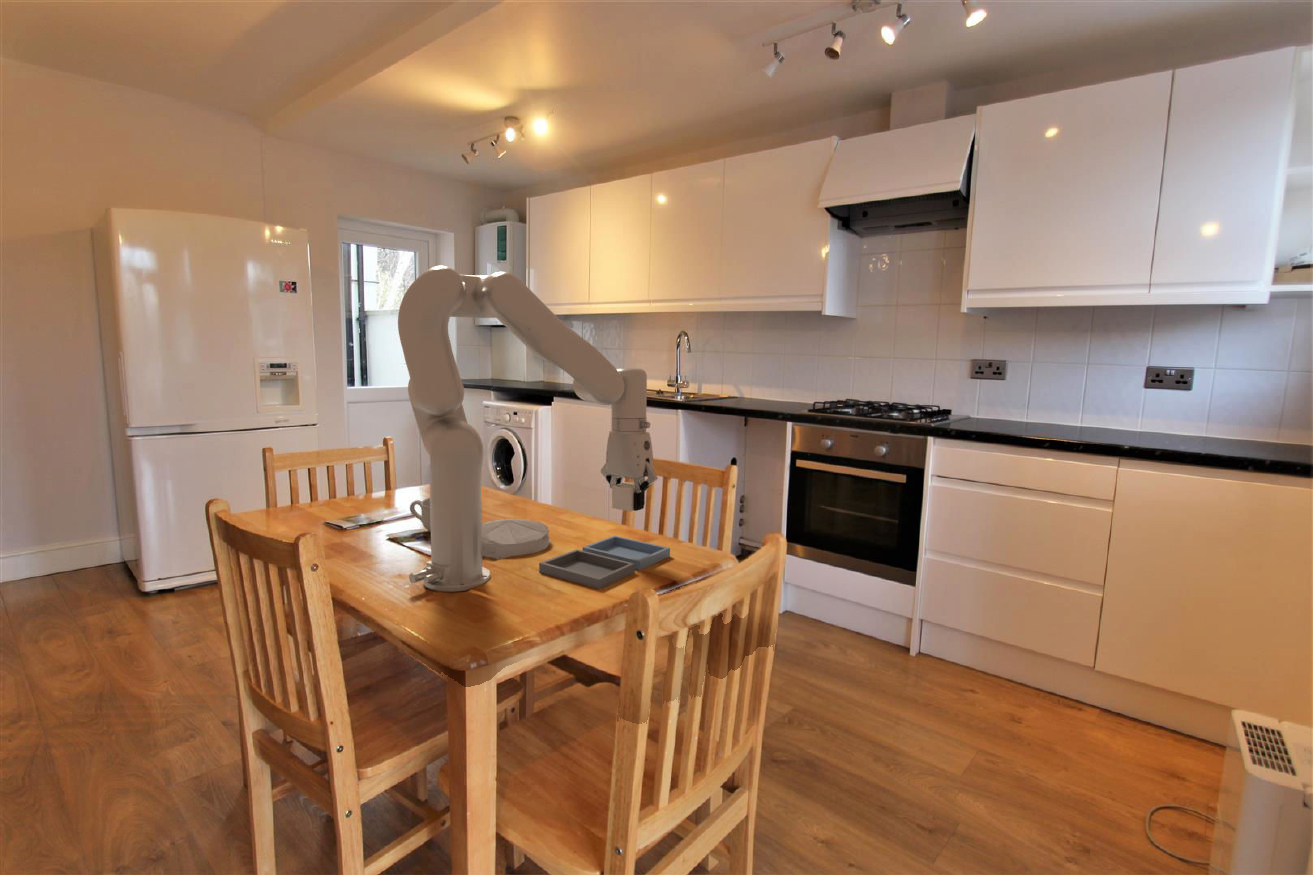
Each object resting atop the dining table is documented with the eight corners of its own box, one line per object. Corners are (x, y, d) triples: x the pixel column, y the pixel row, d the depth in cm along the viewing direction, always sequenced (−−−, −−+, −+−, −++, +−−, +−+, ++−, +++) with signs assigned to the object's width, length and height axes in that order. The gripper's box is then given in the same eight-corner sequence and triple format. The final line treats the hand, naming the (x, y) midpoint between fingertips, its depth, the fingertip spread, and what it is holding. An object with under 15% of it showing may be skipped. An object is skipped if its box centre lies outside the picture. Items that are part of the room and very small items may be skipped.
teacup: (475, 528, 162) (474, 497, 161) (450, 539, 151) (449, 507, 150) (427, 522, 165) (427, 493, 164) (400, 533, 155) (399, 502, 154)
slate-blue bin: (639, 572, 131) (640, 561, 131) (582, 558, 140) (582, 547, 140) (669, 558, 141) (670, 547, 141) (614, 545, 149) (614, 535, 149)
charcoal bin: (598, 592, 120) (599, 579, 120) (539, 574, 129) (539, 562, 128) (634, 575, 130) (634, 563, 129) (576, 560, 138) (576, 549, 138)
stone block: (630, 511, 136) (630, 488, 135) (612, 508, 138) (612, 485, 138) (643, 507, 140) (644, 484, 139) (625, 503, 142) (625, 482, 142)
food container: (561, 538, 156) (561, 511, 156) (538, 562, 137) (538, 532, 136) (483, 535, 158) (483, 508, 158) (449, 558, 139) (449, 528, 138)
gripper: (671, 427, 135) (669, 510, 137) (608, 421, 144) (608, 499, 147) (651, 430, 129) (650, 517, 131) (587, 424, 138) (587, 505, 141)
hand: (628, 506), depth 139 cm, fingers closed on stone block, 5 cm apart
